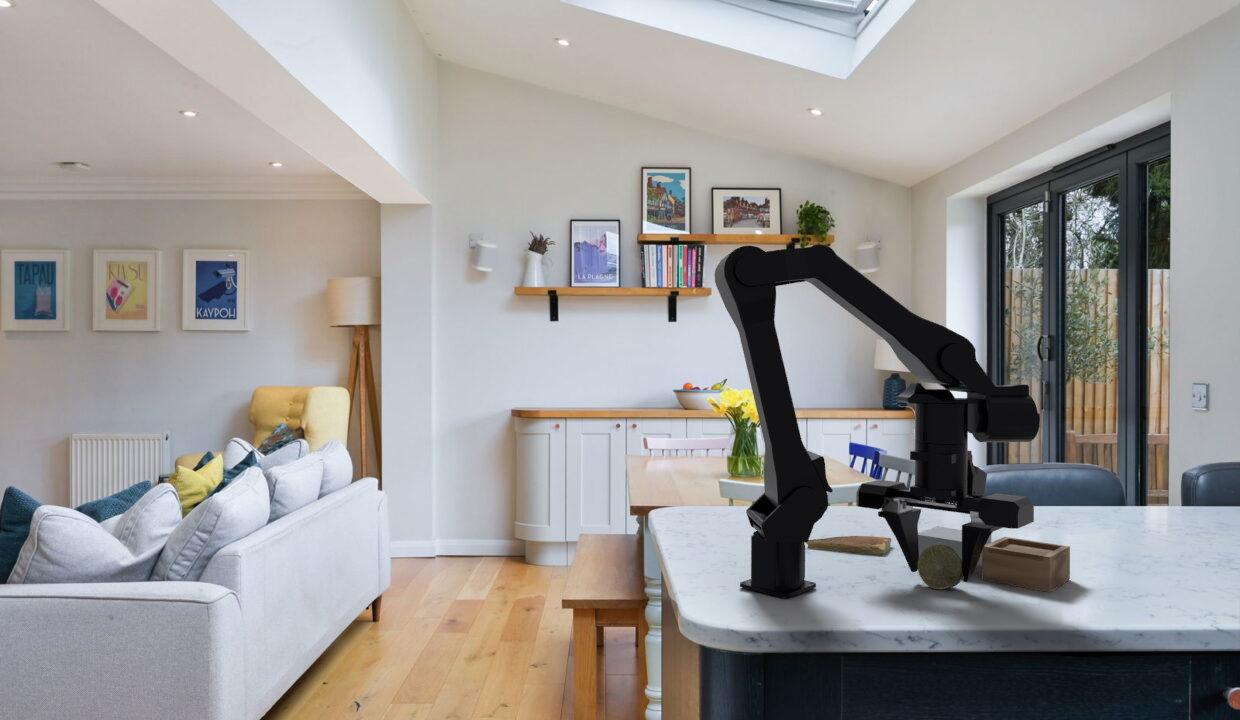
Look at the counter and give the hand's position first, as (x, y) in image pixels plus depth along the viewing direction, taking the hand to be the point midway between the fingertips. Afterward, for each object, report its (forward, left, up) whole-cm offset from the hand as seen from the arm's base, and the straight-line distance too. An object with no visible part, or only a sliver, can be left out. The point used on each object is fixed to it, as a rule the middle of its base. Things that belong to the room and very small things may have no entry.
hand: (940, 576), depth 94 cm
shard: (+10, +16, -2) cm, 19 cm away
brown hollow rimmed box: (+11, -6, -1) cm, 12 cm away
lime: (0, 0, -2) cm, 2 cm away
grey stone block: (+11, +3, -1) cm, 11 cm away
